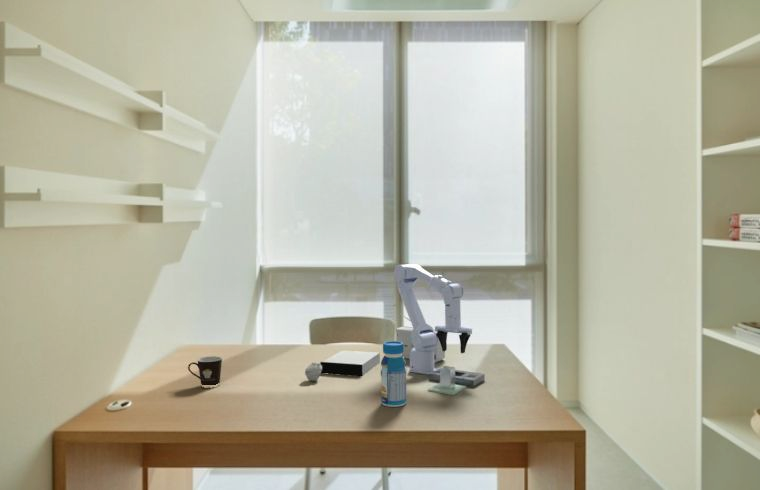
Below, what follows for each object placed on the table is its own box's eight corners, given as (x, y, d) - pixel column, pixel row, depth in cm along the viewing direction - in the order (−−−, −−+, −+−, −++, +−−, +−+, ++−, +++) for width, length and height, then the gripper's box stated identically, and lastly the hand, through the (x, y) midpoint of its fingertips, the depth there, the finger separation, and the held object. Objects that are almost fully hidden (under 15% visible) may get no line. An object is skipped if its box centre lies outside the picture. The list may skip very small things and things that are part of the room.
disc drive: (320, 374, 221) (320, 362, 221) (341, 361, 243) (341, 349, 243) (361, 377, 216) (361, 365, 216) (380, 363, 237) (380, 352, 237)
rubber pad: (428, 390, 197) (428, 389, 197) (441, 383, 205) (441, 382, 205) (453, 395, 191) (453, 393, 191) (466, 387, 199) (466, 386, 199)
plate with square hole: (429, 380, 210) (429, 373, 210) (441, 373, 218) (441, 367, 218) (473, 387, 200) (473, 380, 200) (484, 380, 208) (484, 373, 208)
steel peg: (440, 387, 198) (440, 368, 198) (445, 385, 201) (445, 365, 201) (450, 389, 196) (450, 369, 195) (455, 386, 199) (455, 367, 199)
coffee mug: (227, 384, 208) (226, 357, 208) (211, 390, 200) (210, 362, 200) (203, 380, 213) (202, 354, 212) (186, 386, 205) (186, 359, 205)
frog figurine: (325, 380, 211) (325, 362, 211) (311, 384, 206) (311, 365, 206) (315, 377, 216) (315, 359, 215) (301, 381, 210) (300, 362, 210)
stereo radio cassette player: (445, 360, 241) (445, 313, 240) (437, 364, 234) (436, 316, 233) (403, 354, 252) (403, 310, 251) (394, 358, 245) (393, 312, 244)
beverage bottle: (398, 409, 177) (397, 346, 177) (376, 405, 182) (375, 344, 181) (411, 402, 184) (410, 341, 184) (389, 398, 189) (388, 339, 188)
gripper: (430, 316, 211) (431, 351, 211) (466, 318, 203) (466, 355, 203) (439, 313, 217) (440, 348, 217) (474, 316, 209) (474, 352, 209)
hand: (453, 351), depth 210 cm, fingers open, 7 cm apart
